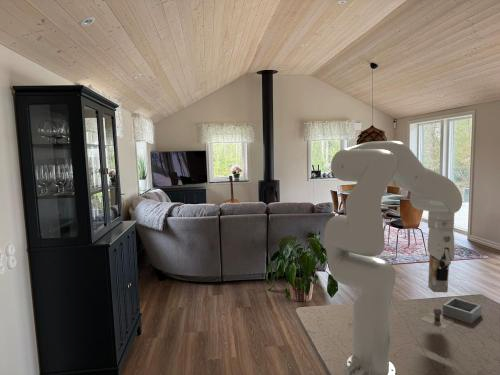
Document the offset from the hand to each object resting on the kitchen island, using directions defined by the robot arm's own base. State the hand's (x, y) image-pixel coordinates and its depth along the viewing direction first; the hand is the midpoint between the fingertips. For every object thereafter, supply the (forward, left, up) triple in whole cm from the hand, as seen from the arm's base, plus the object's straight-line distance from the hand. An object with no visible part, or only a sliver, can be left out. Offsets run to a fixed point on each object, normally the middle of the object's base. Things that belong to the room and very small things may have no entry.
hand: (438, 277), depth 118 cm
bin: (+10, -4, -17) cm, 20 cm away
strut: (0, 0, -4) cm, 4 cm away
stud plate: (0, 0, -17) cm, 17 cm away
